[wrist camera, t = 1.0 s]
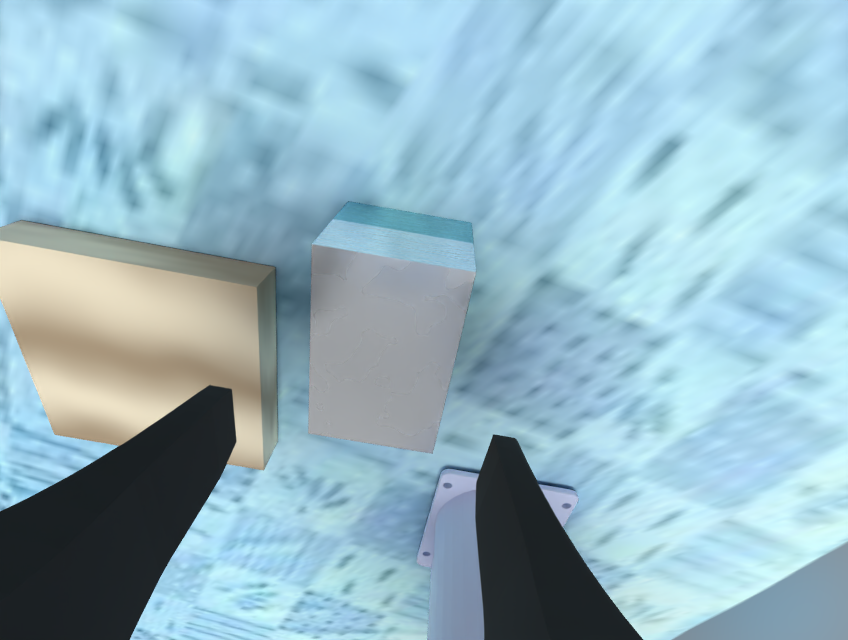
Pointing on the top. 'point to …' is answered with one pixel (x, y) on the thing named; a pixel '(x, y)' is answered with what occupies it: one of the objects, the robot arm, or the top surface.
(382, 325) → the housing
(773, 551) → the top surface
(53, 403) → the stand
